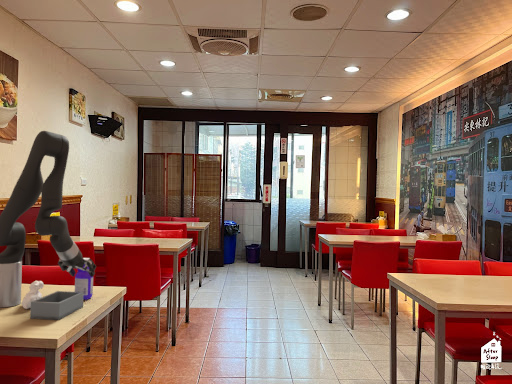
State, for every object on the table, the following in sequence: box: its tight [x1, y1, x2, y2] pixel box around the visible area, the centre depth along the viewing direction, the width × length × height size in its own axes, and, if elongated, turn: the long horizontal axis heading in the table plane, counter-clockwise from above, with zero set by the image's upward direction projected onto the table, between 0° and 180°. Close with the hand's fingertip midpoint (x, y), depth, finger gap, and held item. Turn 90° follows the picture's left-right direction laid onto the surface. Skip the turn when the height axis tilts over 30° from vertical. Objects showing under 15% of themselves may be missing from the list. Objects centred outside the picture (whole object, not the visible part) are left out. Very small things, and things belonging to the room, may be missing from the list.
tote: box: [29, 290, 84, 321], centre depth 144 cm, size 11×16×6 cm
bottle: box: [74, 257, 94, 301], centre depth 164 cm, size 7×6×17 cm
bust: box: [21, 280, 45, 310], centre depth 151 cm, size 12×8×11 cm
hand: (83, 274), depth 163 cm, fingers open, 8 cm apart
